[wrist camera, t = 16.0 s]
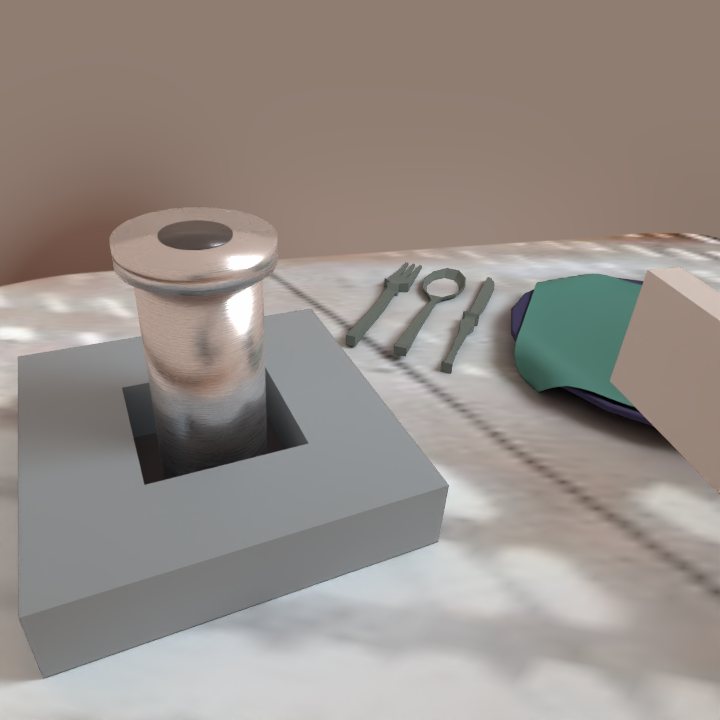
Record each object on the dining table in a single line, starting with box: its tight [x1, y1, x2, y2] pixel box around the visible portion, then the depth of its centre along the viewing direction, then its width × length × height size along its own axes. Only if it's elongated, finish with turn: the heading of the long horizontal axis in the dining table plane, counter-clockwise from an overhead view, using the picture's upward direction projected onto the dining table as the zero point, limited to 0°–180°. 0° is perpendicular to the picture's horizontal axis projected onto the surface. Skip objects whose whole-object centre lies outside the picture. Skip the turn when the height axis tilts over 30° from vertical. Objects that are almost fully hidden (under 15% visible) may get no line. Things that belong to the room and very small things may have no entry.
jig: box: [18, 309, 449, 678], centre depth 29 cm, size 16×16×4 cm
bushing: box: [110, 207, 277, 480], centre depth 27 cm, size 6×6×12 cm
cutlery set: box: [346, 263, 653, 426], centre depth 43 cm, size 20×30×2 cm, turn 69°
